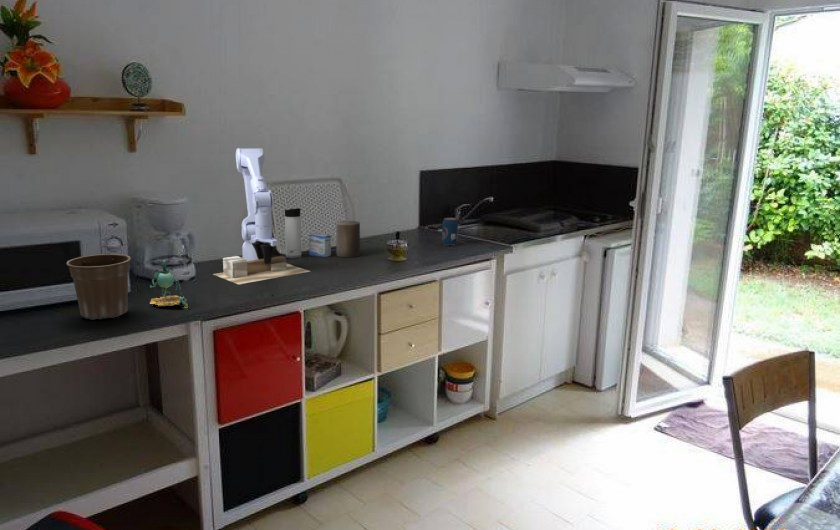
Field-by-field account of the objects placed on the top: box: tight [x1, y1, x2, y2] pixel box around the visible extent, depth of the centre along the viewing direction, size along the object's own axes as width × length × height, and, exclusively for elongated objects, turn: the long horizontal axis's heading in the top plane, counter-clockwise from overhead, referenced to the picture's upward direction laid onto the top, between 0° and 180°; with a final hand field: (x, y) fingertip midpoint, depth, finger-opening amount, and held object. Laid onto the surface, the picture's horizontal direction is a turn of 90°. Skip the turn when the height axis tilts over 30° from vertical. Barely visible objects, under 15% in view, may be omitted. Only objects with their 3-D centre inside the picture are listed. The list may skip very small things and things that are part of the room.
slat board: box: [212, 255, 311, 285], centre depth 237 cm, size 18×29×7 cm, turn 134°
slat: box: [247, 255, 287, 274], centre depth 240 cm, size 3×16×4 cm, turn 134°
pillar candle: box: [335, 220, 361, 259], centre depth 271 cm, size 10×10×15 cm
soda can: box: [441, 217, 459, 245], centre depth 298 cm, size 7×7×12 cm
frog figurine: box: [149, 259, 190, 308], centre depth 200 cm, size 10×18×15 cm, turn 44°
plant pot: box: [66, 253, 132, 319], centre depth 188 cm, size 16×16×16 cm
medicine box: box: [308, 233, 332, 258], centre depth 271 cm, size 8×4×9 cm, turn 62°
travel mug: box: [284, 207, 302, 259], centre depth 266 cm, size 6×7×20 cm
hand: (264, 262), depth 240 cm, fingers open, 3 cm apart
